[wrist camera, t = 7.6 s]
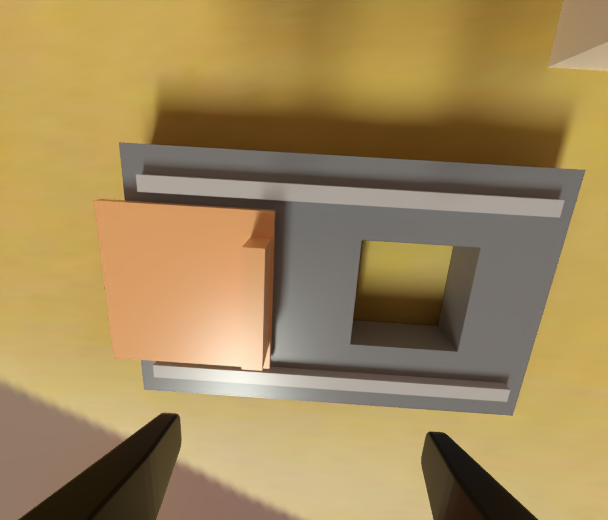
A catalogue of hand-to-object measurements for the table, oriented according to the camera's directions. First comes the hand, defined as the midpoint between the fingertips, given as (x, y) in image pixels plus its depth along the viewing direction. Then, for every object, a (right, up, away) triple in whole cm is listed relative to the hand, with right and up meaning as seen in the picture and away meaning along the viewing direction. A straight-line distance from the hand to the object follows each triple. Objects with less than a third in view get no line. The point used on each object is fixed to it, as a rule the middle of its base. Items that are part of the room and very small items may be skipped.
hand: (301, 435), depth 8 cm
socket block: (+2, +3, +12) cm, 13 cm away
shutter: (-6, +3, +9) cm, 11 cm away
